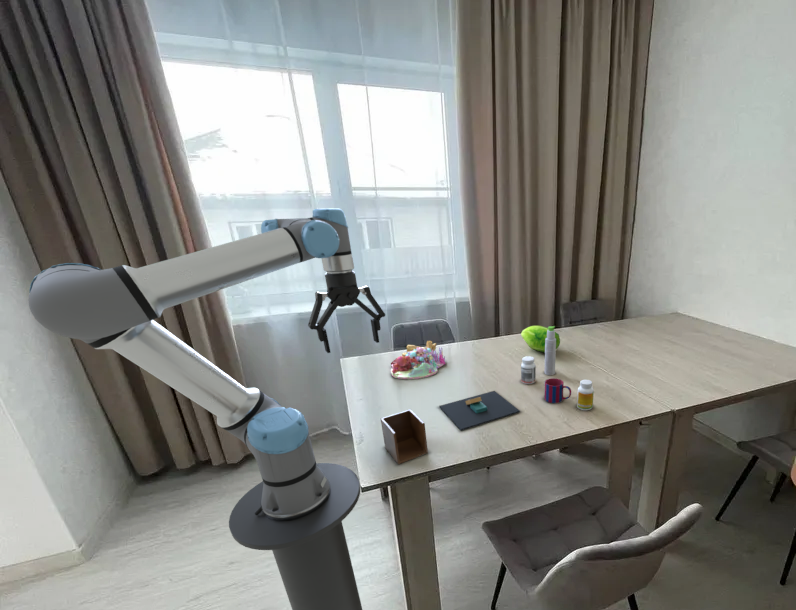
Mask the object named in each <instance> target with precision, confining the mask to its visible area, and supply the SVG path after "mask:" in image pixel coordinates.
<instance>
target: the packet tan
mask: <svg viewBox="0 0 796 610" xmlns="http://www.w3.org/2000/svg"><path fill="white" fill-rule="evenodd" d="M479 401H482V400H481V397H478V398H474V399H471V400H468V401H465V402H466V405H469V404H472V403H476V402H479Z"/></svg>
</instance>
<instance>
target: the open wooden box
mask: <svg viewBox="0 0 796 610" xmlns="http://www.w3.org/2000/svg"><path fill="white" fill-rule="evenodd" d="M380 424H381V431H382V436H383V443H384V448H385V450H386V451H387V452H388V453H389V455H390V456H391V457H392V459H393V460H394V461H395V463H396V464H397V465H401V464H404V463H406V462H408V461H411V460H414V459H416V458H419V457H422V456H424V455H427V454H429V450H428V441H427V432H426V425H425V424H426V423H425V422H424V421H423V420H422V418H420V417H419V416H418V415H417V414H416V413H415V412H414V411H413V410H412V409H411V408H410V409H407V410H404V411H400V412H397V413H393V414H390V415H387V416H384V417H381V418H380Z"/></svg>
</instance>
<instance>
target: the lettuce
mask: <svg viewBox="0 0 796 610" xmlns="http://www.w3.org/2000/svg"><path fill="white" fill-rule="evenodd" d="M547 330H548V327H546V326H542V325H530V326H528V327H526V328H524V329H522V331H521V332H520V336H521V338H522V339H523V341H524V342H525V343H526V344H527V346H528V347H529V348H531V349H533V350H534V351H536V352H539V353H540V352H541V353H545V339H546V338H547ZM555 338H556V350H558V349H559V347H560V345H561V338H560V334H559V333H558V332H556V331H555Z"/></svg>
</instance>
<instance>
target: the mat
mask: <svg viewBox="0 0 796 610" xmlns="http://www.w3.org/2000/svg"><path fill="white" fill-rule="evenodd" d="M478 397H481V400H482V401H481V402H482V403H483V404H484V405H485V406H486V407H487V411H484V412H480V413H476V412H475V411H473V410H472V409H471V408H470V404H469V405H466V402H465V401H468V400H471V399H474V398H478ZM438 407H439V409H440V410H441V411H442V412H443V413H444V414H445V415H446V416H447V418H448V419H449V420H450V421H451V422H452V423H453V424H454V425H455V426H456V427H457V428H458V429H459V431H461V432H462V431H465V430H468V429H471V428H475V427H477V426H480V425H484V424H486V423H491V422H493V421H497V420H500V419H503V418H506V417H509V416H513V415H515V414H519V413H520V412H521V410H520V409H518V408H517V407H516V406H514V405H513V404H512V403H511V402H509V401H508V400H507V399H506V398H504V397H503V396H502V395H500V394H499V393H498V392H496V391H495V390H493V391H489V392H488V391H487V392H485V393H482V394H481V393H480V394H477V395H473V396H470V397H467V398H463V399H460V400H456V401H453V402H449V403H445V404H442V405H439V406H438Z"/></svg>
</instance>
